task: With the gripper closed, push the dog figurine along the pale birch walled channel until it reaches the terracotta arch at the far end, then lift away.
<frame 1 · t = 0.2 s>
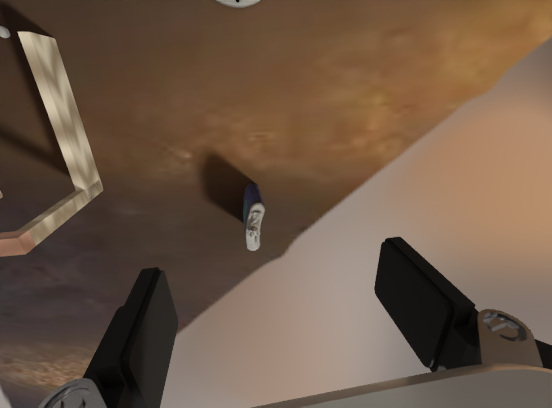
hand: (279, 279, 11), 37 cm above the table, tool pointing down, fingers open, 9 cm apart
channel: (22, 125, 38), on the table
flask: (250, 204, 50), on the table
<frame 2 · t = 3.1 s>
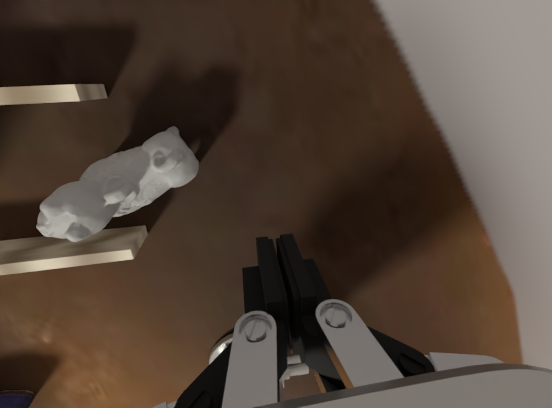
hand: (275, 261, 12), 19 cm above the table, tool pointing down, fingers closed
channel: (14, 177, 26), on the table
flask: (1, 395, 39), on the table
dog figurine: (148, 166, 28), on the table
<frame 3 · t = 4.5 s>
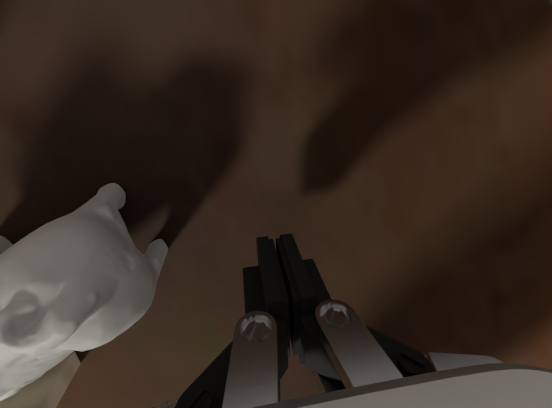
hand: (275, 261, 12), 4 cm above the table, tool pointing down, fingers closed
dog figurine: (69, 255, 14), on the table
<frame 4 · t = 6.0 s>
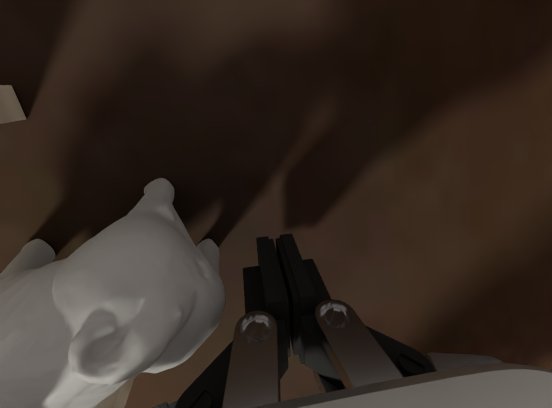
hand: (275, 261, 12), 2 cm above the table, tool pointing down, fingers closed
dog figurine: (112, 258, 13), on the table, touching gripper
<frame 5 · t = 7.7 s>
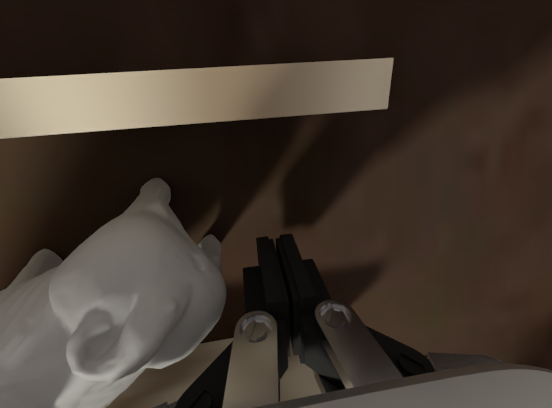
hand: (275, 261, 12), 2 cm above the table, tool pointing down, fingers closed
channel: (114, 261, 13), on the table
dog figurine: (118, 262, 13), on the table, touching gripper
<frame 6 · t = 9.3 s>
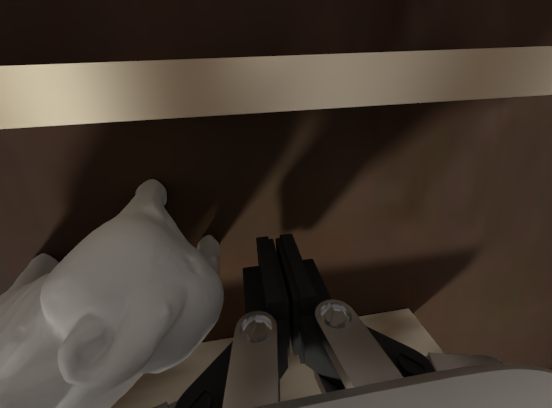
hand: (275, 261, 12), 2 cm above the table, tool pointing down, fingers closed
channel: (239, 243, 14), on the table
dog figurine: (117, 265, 13), on the table, touching gripper
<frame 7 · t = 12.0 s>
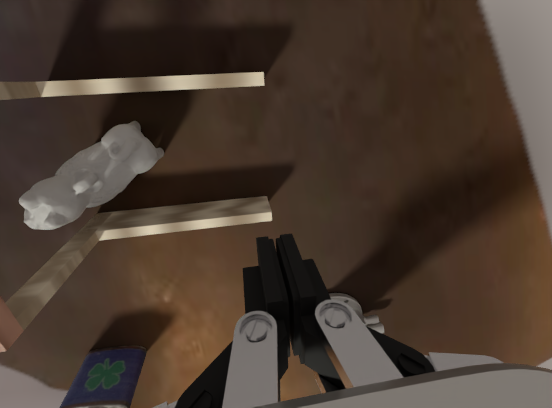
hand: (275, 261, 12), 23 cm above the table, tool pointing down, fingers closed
channel: (173, 152, 32), on the table
flask: (118, 350, 44), on the table
dog figurine: (120, 161, 31), on the table
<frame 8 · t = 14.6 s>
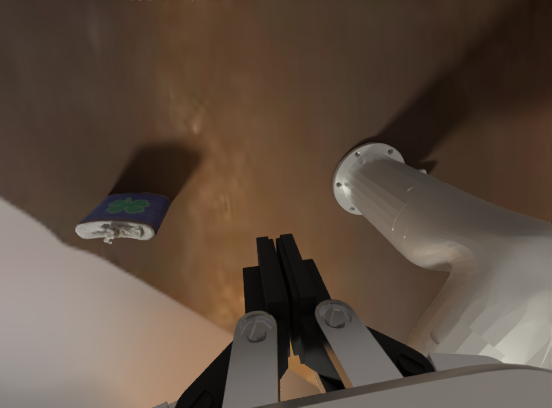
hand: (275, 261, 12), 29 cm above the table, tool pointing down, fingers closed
flask: (139, 200, 40), on the table
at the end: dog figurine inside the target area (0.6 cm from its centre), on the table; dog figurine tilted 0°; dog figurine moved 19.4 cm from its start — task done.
